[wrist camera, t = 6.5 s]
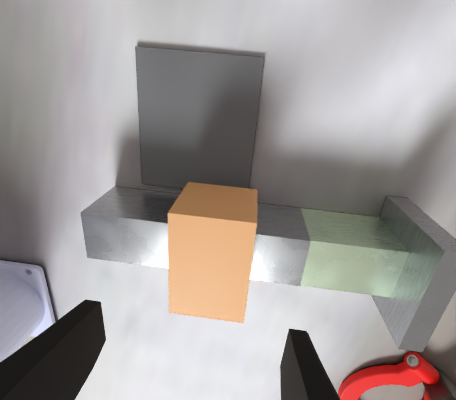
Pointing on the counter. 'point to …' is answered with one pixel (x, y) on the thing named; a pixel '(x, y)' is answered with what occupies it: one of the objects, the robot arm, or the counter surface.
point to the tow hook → (400, 379)
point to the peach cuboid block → (211, 250)
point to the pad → (197, 116)
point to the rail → (307, 252)
